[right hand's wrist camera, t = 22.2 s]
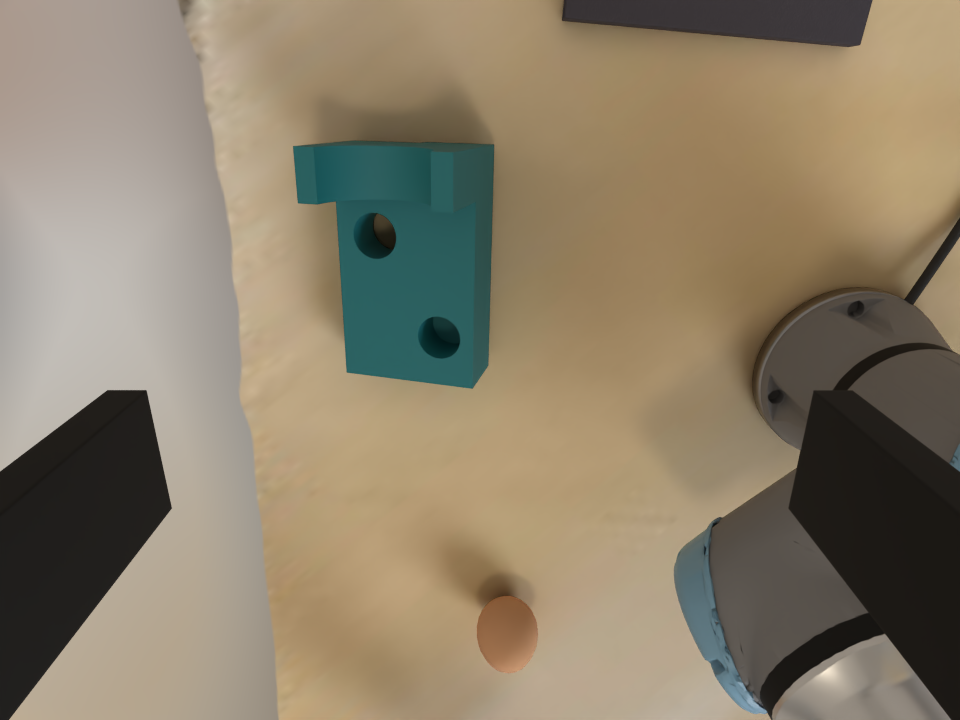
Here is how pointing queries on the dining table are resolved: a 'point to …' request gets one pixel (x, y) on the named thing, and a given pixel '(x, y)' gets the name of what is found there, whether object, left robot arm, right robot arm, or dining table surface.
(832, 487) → the right robot arm
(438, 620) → the dining table surface
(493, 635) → the egg
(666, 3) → the notebook
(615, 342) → the dining table surface
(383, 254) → the teal l-shaped bracket
